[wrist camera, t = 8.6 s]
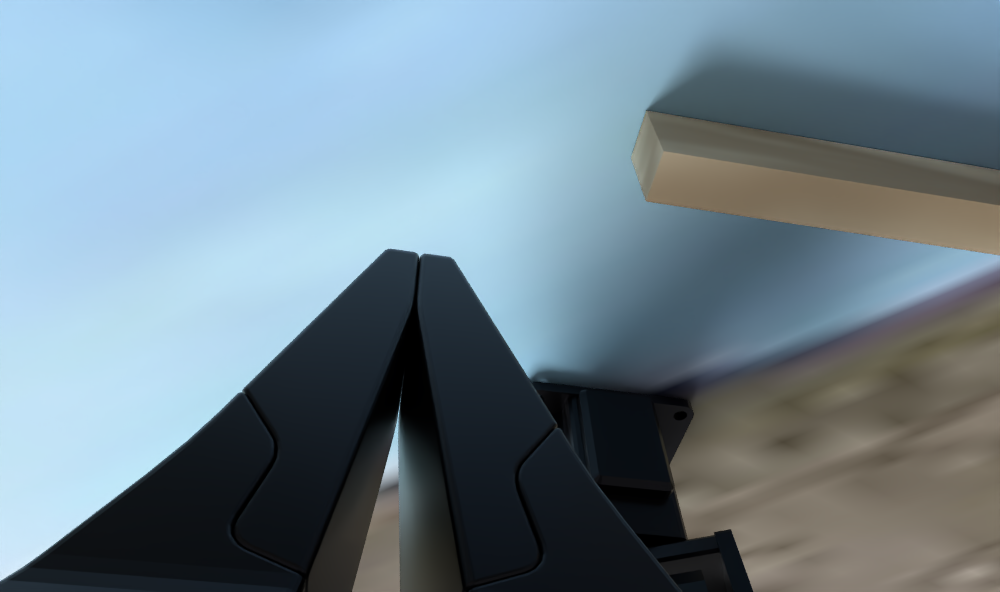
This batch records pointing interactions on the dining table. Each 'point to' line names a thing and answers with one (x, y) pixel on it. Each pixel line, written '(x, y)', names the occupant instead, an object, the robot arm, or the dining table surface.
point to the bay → (817, 183)
